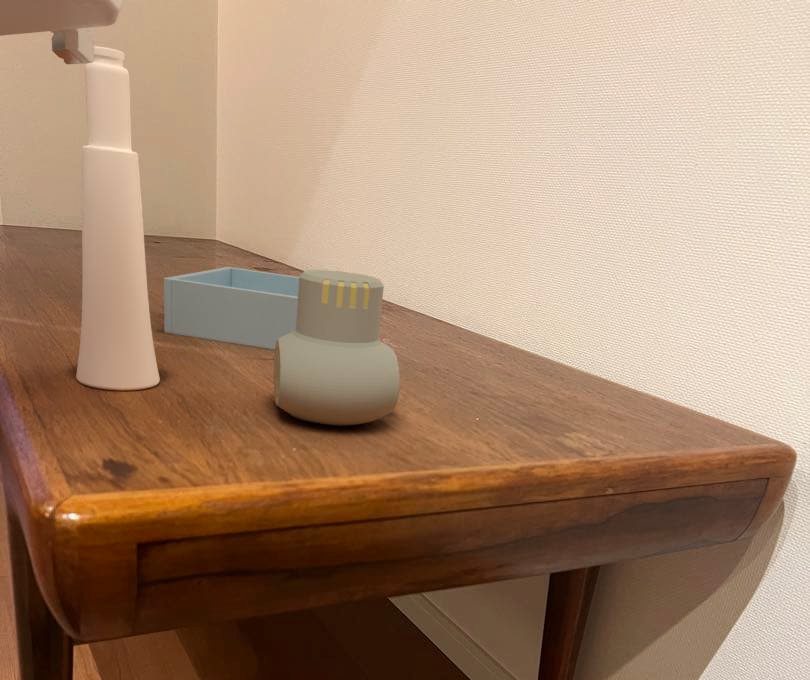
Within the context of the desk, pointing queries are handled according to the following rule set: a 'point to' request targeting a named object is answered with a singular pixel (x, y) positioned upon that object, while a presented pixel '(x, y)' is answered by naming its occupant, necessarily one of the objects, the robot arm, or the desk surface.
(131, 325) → the cosmetic bottle
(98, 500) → the desk surface
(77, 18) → the robot arm
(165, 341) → the desk surface
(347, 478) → the desk surface
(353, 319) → the air freshener
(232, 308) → the basket
